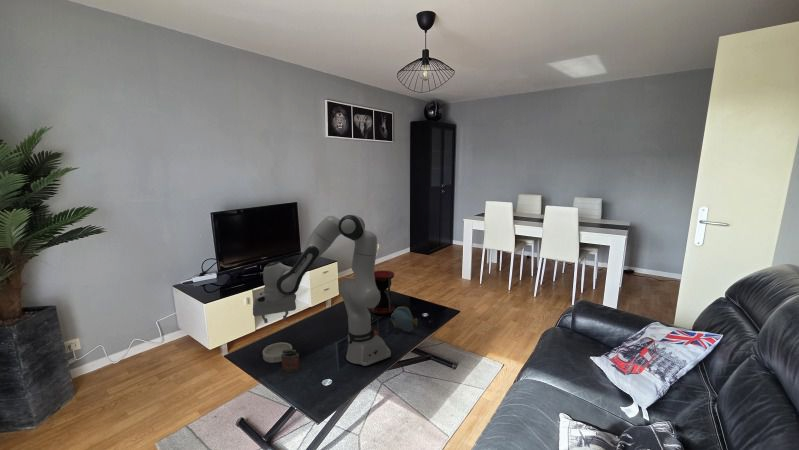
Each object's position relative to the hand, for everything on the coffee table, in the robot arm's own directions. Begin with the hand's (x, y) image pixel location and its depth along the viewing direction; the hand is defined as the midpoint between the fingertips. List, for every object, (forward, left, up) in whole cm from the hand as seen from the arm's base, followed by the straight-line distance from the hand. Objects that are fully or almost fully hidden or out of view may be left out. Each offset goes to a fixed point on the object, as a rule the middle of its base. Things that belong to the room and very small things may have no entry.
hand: (275, 321), depth 168 cm
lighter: (-5, +16, -19) cm, 25 cm away
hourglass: (-69, -31, -19) cm, 78 cm away
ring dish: (0, 0, -18) cm, 18 cm away
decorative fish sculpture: (-69, +2, -19) cm, 72 cm away
